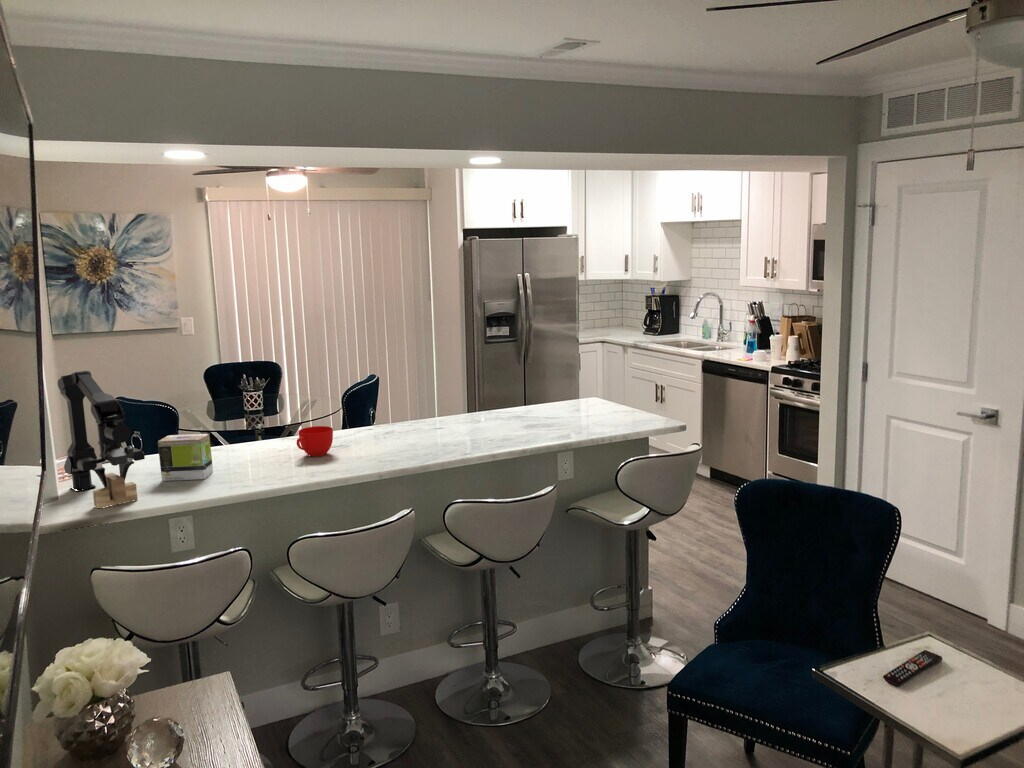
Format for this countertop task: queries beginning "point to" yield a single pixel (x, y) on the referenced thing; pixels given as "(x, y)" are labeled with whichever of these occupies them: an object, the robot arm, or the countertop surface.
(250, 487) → the countertop surface
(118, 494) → the tan wooden beam
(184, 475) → the tea box
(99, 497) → the u-shaped oak block
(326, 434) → the ceramic cup
